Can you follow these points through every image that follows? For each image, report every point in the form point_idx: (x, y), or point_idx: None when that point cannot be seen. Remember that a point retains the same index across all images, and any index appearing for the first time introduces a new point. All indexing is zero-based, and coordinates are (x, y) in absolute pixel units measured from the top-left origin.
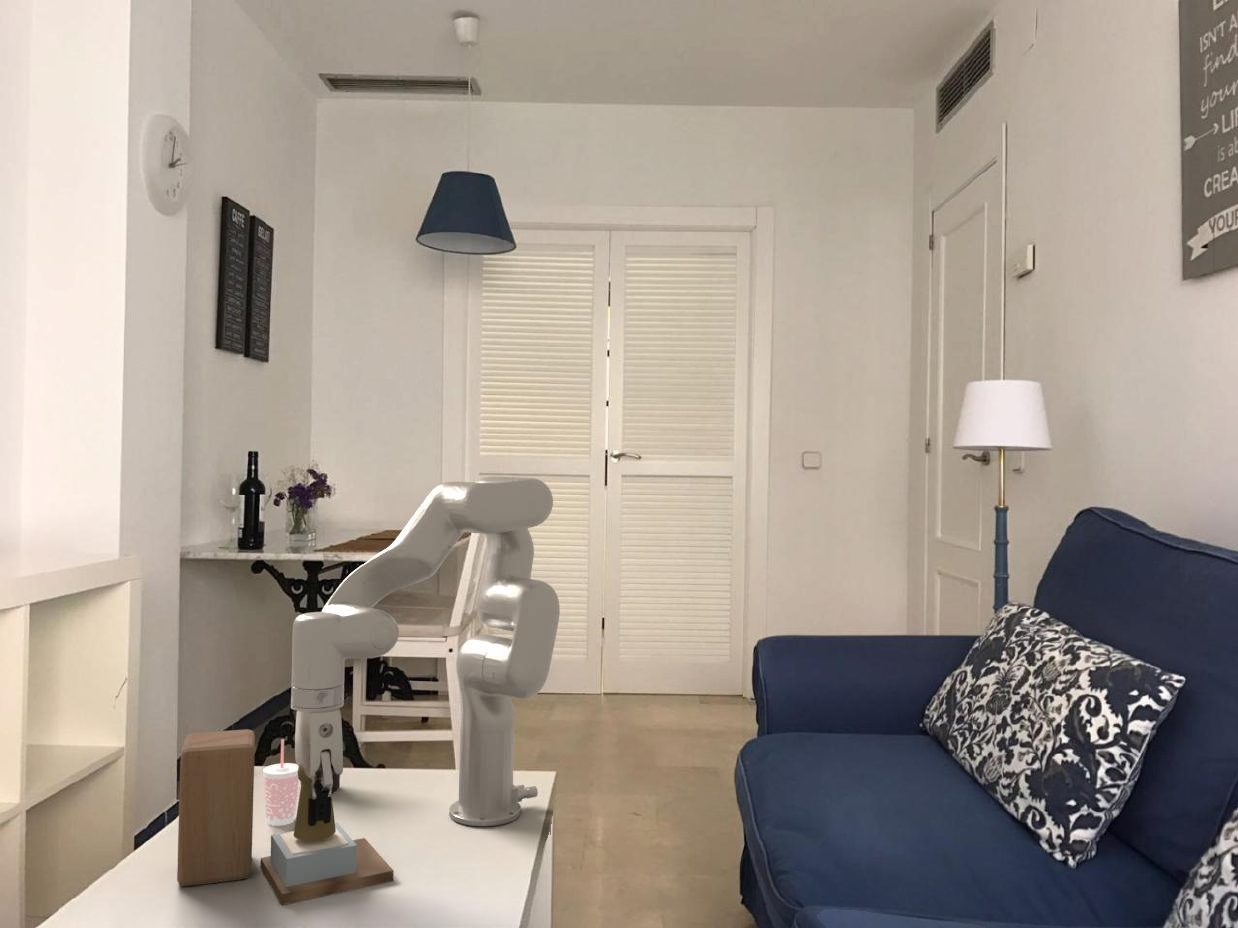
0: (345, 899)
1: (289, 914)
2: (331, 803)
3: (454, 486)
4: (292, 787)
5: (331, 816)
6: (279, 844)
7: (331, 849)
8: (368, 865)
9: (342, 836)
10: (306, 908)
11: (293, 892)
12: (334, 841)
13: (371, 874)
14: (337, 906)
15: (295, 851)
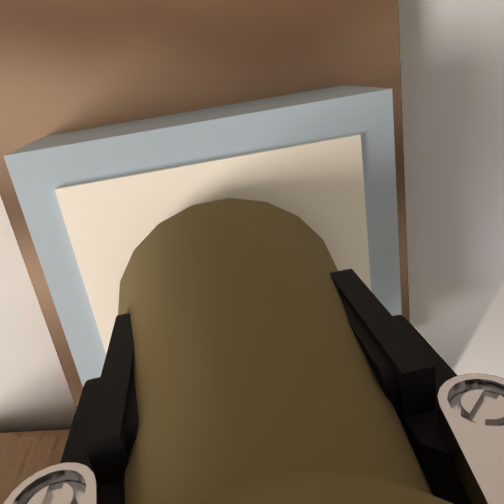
0: (449, 140)
1: (464, 309)
2: (310, 304)
3: None
4: None
5: (319, 266)
6: None
7: (387, 221)
8: (291, 16)
9: (258, 154)
10: (450, 264)
11: (408, 314)
12: (311, 202)
13: (391, 20)
14: (485, 172)
15: None
